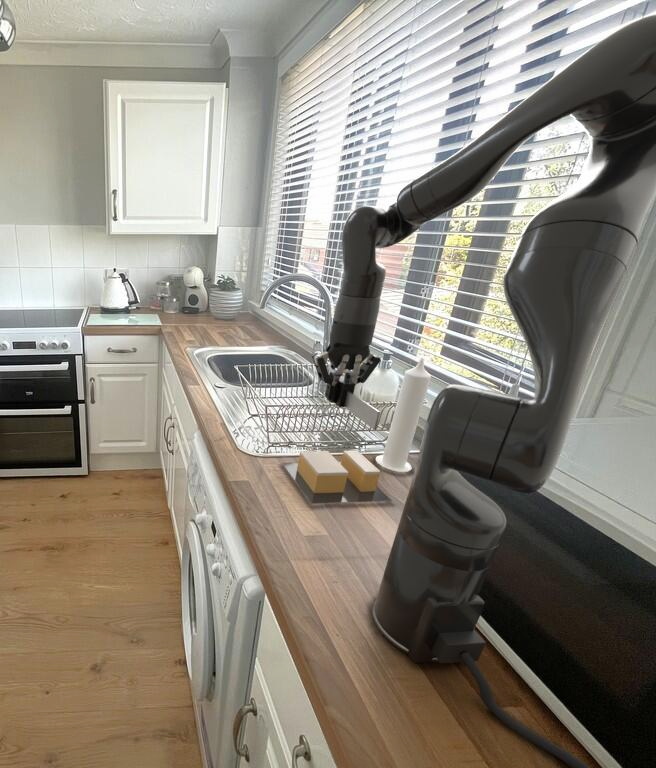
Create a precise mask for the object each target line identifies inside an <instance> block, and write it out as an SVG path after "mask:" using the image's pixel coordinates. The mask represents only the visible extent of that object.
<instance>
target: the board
mask: <svg viewBox="0 0 656 768" xmlns="http://www.w3.org/2000/svg"><path fill="white" fill-rule="evenodd" d="M338 462H339V463H340V464H341V461H338ZM281 464H282V466H283V467H284V469H285V470H286V471H287V473H288V474H289V475H290V477H291V478H292V479H293V481H294V482H295V484H296V485H297V486H298V488H299V489H300V491H301V492H302V493H303V495H304V496H305V497H306V499H307V500H308V501H309V503H310V504H312V505H313V504H315V505H316V504H345V503H377V502H378V503H379V502H393V500H392V499H391V498H390V497H389V496H388V495H387V494H386V493H385V492H384V491H383V490H382V489H381V488H380V487H378V485H377V486H376V489H375V491H369V492H360V490H359V489H358V488H357V487H356V486H355V485H354V484H353V483H352V482H351V481H350V480H349V479H348V478H347V480H346V484H345V488H344V492H339V493H314V492H313V491H312V490H311V488H310V487H309V486H308V484H307V483H306V482H305V481H304V479H303V478H302V477H301V475H300V474H299V473H298V471H297V467H298V462H282V463H281Z"/></svg>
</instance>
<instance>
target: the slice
mask: <svg viewBox="0 0 656 768" xmlns="http://www.w3.org/2000/svg"><path fill="white" fill-rule="evenodd" d="M340 462H341V465H342V466H343V467H344V468H345V469H346V470H347V472H348V476H347V478H348V479H349V480H350V481H351V482H352V483H353V484H354V485H355V486H356V487H357V488H358V489H359V490H360V492H369V491H375V489H376V486H377V487H378V481H379V478H380V474H381V471H380V470H379V469H378V468H377V467H376V466H375V465H374V464H373V463H372V462H371V461H370V460H368V459H367V458H366V457H365V456H364V455H363V454H362V453H361V452H360V451H358V450H355V449H353V450H343V451H342V457H341V461H340Z"/></svg>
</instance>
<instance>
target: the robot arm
mask: <svg viewBox="0 0 656 768" xmlns="http://www.w3.org/2000/svg"><path fill="white" fill-rule="evenodd" d="M569 116H570V117H571V118H572V119H573V120H574V122H575V123H577V125H578V126H579V127H580V128H581V129H582V130H583V131H584V132H585V133H586V134H587V136H588V139H589V142H590V143H589V144H590V147H589V152H588V156H587V159H586V161H585V164H584V167H583V169H582V172H581V174H580V177H579V178H578V180H577V182H576V183H575V185H573V186H572V187H571V188H570V189H568V190H566V191H565V192H564V193H562V194H561V195H559V196H558V197H556V198H555V199H553V200H552V201H551V202H549V203H548V204H546V205H545V206H544V207H542V208H541V209H540V210H539V211H538V212H537V213H536V214H535V215H534V216H533V217H532V218H531V219H530V220H529V221H528V222H527V224H526V225H525V227H524V228H523V230H522V231H521V234H520V236H519V238H518V240H517V243H516V244H515V247H514V250H513V252H512V255H511V257H510V260H509V262H508V264H507V267H506V270H505V272H504V275H503V278H502V279H503V280H502V287H503V294H504V297H505V301H506V303H507V305H508V308H509V310H510V313H511V315H512V317H513V319H514V321H515V323H516V325H517V327H518V329H519V331H520V333H521V335H522V337H523V340H524V342H525V345H526V347H527V350H528V354H529V357H530V361H531V365H532V368H533V369H532V370H533V377H534V397H533V398H532V399H529V398H526V397H525V398H524V397H523V398H522V397H521V396H520V397H518V396H514V395H510V394H506V393H503V392H499V391H498V392H496V391H494V390H489V389H484V388H480V387H475V386H471V385H467V384H462V383H461V384H460V383H451V384H449V385H447V386H445V387H443V388H442V389H441V390H440V392H439V393H438V394H437V395H436V397H435V398H434V399H433V402H432V404H431V406H430V409H429V411H428V414H427V417H426V420H425V421H426V422H425V425H424V429H423V434H422V438H421V443H420V447H419V452H418V457H417V461H416V465H415V468H414V469H415V470H414V472H413V476H412V480H411V483H410V486H409V490H408V493H407V497H406V500H405V503H404V507H403V509H402V513H401V516H400V519H399V523H398V526H397V529H396V532H395V535H394V539H393V542H392V544H391V549H390V552H389V555H388V559H387V561H386V565H385V569H384V571H383V575H382V578H381V581H380V584H379V589H378V593H377V595H376V599H375V601H374V602H373V605H372V610H371V614H372V615H371V616H372V618H373V621H374V625H375V626H376V627H377V629H378V630H379V632H380V633H381V634H382V635H383V637H384V638H385V639H386V640H387V641H389V643H390V644H392V645H393V646H394V647H395V648H397V649H398V650H400V651H402V652H403V653H405V654H406V655H407V656H408V657H409V658H410V659H411V661H412V662H413V663H415V664H423V663H440V664H451V663H453V664H454V663H464V665H465V666H466V667H467V670H468V671H469V672H470V673H471V675H472V677H473V679H474V680H475V682H476V684H477V686H478V689H479V693H480V697H481V700H482V701H483V703H484V705H485V706H486V707H487V708H488V710H489V711H491V713H492V714H493V715H494V716H495V717H496V718H497V719H498V720H499V721H500V722H501V723H503V724H504V725H506V726H507V727H508V728H510V729H511V730H513V731H514V732H515V733H517V734H519V735H520V736H522V738H525V739H526V740H528V741H529V742H531V743H532V744H534V745H536V747H539V748H540V749H542V750H544V751H546V752H547V753H549V754H551V755H552V756H554V757H555V758H557V759H559V760H561V761H562V762H564V763H565V764H566V765H568V766H569V767H571V768H591V767H590V766H589V765H588V764H587V763H585V762H584V761H582V760H581V759H579V758H578V757H577V756H575V755H573V754H572V753H570V752H569V751H567V750H566V749H564V748H562V747H560V746H559V745H557V744H555V743H554V742H552V741H550V740H549V739H547V738H545V737H543V736H541V735H540V734H538V733H536V732H534V731H533V730H531V729H529V728H528V727H526V726H525V725H523V724H521V723H520V722H518V721H517V720H516V719H514V718H513V717H511V715H510V714H508V713H507V712H506V711H505V710H503V709H502V708H501V707H500V706H499V704H498V703H496V700H494V698H493V693H492V689H491V686H490V684H489V683H488V680H487V679H486V677H485V675H484V674H483V672H482V671H481V669H480V668H479V666H478V665H477V663H476V662H478V661H479V659H480V657H481V655H482V652H483V650H484V648H485V646H486V644H487V642H486V640H484V639H483V637H482V636H481V635H480V634H479V633H478V631H477V630H475V628H476V626H477V624H478V621H479V619H480V617H481V615H482V612H483V610H484V607H485V605H486V602H485V600H483V598H482V597H481V596H480V595H479V593H480V591H481V589H482V586H483V584H484V581H485V579H486V577H487V574H488V572H489V570H490V567H491V564H492V562H493V561H494V557H495V555H496V553H497V551H498V549H499V546H500V543H501V542H502V539H503V537H504V535H505V532H506V529H507V517H506V515H505V512H504V511H503V510H502V508H501V507H500V506H499V504H497V503H496V502H495V501H494V500H493V499H492V498H491V497H489V496H487V494H485V493H484V492H482V491H480V490H479V489H478V488H476V487H475V486H474V485H473V484H471V483H470V482H469V481H467V479H465V478H464V477H463V475H462V474H464V475H467V476H470V477H473V478H475V479H479V480H481V481H485V482H487V483H489V482H490V484H493V485H496V486H498V487H502V488H505V489H508V490H511V491H514V492H518V493H521V494H532V493H535V492H537V491H539V490H540V489H541V488H542V487H543V486H544V485H545V484H546V483H547V482H548V480H549V479H550V477H551V475H552V474H553V471H554V470H555V468H556V465H557V463H558V461H559V458H560V455H561V453H562V451H563V448H564V445H565V441H566V439H567V435H568V431H569V429H570V426H571V422H572V420H573V419H572V418H573V416H574V412H575V408H576V405H577V402H578V399H579V395H580V392H581V389H582V387H583V382H584V379H585V375H586V372H587V369H588V366H589V363H590V360H591V356H592V354H593V351H594V349H595V346H596V344H597V341H598V340H599V339H598V338H599V336H600V334H601V332H602V329H603V327H604V324H605V323H606V320H607V317H608V316H609V314H610V311H611V309H612V307H613V305H614V302H615V300H616V298H617V295H618V293H619V291H620V290H621V286H622V285H623V282H624V280H625V278H626V276H627V273H628V271H629V268H630V265H631V263H632V260H633V257H634V255H635V252H636V251H637V248H638V245H639V241H640V238H641V235H642V232H643V229H644V226H645V223H646V220H647V218H648V216H649V213H650V211H651V208H652V206H653V205H654V202H655V199H656V14H652V15H648V16H644V17H642V18H640V19H638V20H635V21H633V22H630V23H629V24H627V25H625V26H623V27H621V28H620V29H618V30H616V31H615V32H613V33H612V34H610V35H608V36H607V37H605V38H604V39H602V40H601V41H599V42H598V43H596V44H595V45H593V46H592V47H591V48H589V49H588V50H586V51H585V52H584V53H582V54H581V55H579V56H578V57H576V59H574V60H573V61H572V62H571V63H569V64H567V66H565V67H563V68H562V69H561V70H560V71H559V72H558V73H557V74H555V75H554V76H552V77H551V78H550V79H548V81H546V82H545V83H544V84H543V85H541V86H540V87H539V88H537V89H536V90H535V91H534V92H533V93H531V94H530V95H529V96H527V97H525V99H524V100H522V101H521V102H520V103H519V104H517V105H516V106H515V107H513V108H512V109H511V110H509V111H508V112H507V113H506V114H505V115H503V116H502V117H501V118H500V119H499V120H498V121H496V122H495V123H493V125H491V126H489V128H488V129H486V130H485V131H483V133H481V134H480V135H478V136H477V137H476V138H475V139H474V140H472V141H471V142H469V143H468V144H467V145H466V146H464V147H462V148H461V149H460V150H459V151H457V152H456V153H454V154H453V155H451V156H450V157H448V158H446V159H445V160H443V161H441V162H440V163H439V164H437V165H435V166H434V167H432V168H430V169H429V170H427V171H426V172H423V174H421V175H419V176H418V177H416V178H414V179H413V180H411V181H410V182H409V183H407V184H406V185H404V186H403V187H402V188H401V189H400V190H399V192H398V193H397V196H396V200H395V202H394V203H392V204H390V205H387V206H376V205H362V206H359V207H356V208H355V209H354V210H353V211H352V212H351V213H350V214H349V215H348V217H347V218H346V220H345V222H344V225H343V227H342V232H341V251H342V252H341V253H342V266H343V275H342V280H341V284H340V288H339V289H340V290H339V295H338V297H337V301H336V304H335V308H334V312H333V318H332V323H331V330H330V333H329V344H328V346H327V347H326V348H325V351H324V352H322V353H319V354H317V353H314V354H313V355H312V361H313V365H314V368H315V370H316V373H317V376H318V379H320V380H321V381H322V382H324V384H326V387H327V388H326V387H325V392H326V393H324V397H325V399H326V400H327V402H329V403H331V404H335V403H334V402H335V399H336V394H337V389H338V386H337V385H338V382H339V379H340V377H341V376H344V377H345V378H347V379H348V380H350V381H352V382H353V383H355V386H357V385H358V384H364V383H366V381H367V380H368V379H369V378H370V376H371V375H372V373H373V372H374V371H375V369H376V368H377V367H378V365H379V364H380V363H381V360H382V359H381V357H379V356H377V355H375V354H372V353H371V350H370V349H371V348H370V346H371V345H372V343H373V338H374V334H375V330H376V326H377V322H378V316H379V312H380V306H381V305H380V303H381V297H382V293H383V289H384V283H385V279H386V273H387V272H386V267H385V266H384V265H383V264H382V263H379V262H377V257H376V255H377V253H376V250H377V249H386V248H389V247H392V246H395V245H396V244H399V243H401V242H402V241H404V240H405V239H407V238H408V237H410V236H411V235H412V234H414V233H416V232H417V231H419V230H420V229H421V228H422V227H423V226H424V225H425V224H426V223H428V222H431V221H433V220H435V219H438V218H439V217H441V216H443V215H445V214H447V213H449V212H451V211H452V210H455V209H457V208H458V207H461V206H462V205H464V204H466V203H467V202H469V201H471V200H472V199H473V198H475V197H476V196H477V195H479V194H480V193H481V192H482V191H483V190H484V189H485V188H486V187H487V186H488V185H489V184H490V182H491V181H492V180H493V179H494V178H495V177H496V176H497V174H498V173H499V171H500V170H501V169H502V168H503V166H504V165H505V164H506V162H508V160H509V159H510V158H511V157H512V156H513V154H514V153H516V151H517V150H518V149H519V148H520V147H521V146H522V145H524V143H526V141H528V140H529V139H531V138H532V137H533V136H534V135H536V134H537V133H539V132H540V131H542V130H543V129H545V128H547V127H549V126H551V125H553V124H554V123H556V122H558V121H561V120H562V119H564V118H566V117H569ZM328 360H329V365H328V368H327V364H328Z"/></svg>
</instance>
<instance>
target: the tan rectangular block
mask: <svg viewBox="0 0 656 768" xmlns="http://www.w3.org/2000/svg"><path fill="white" fill-rule="evenodd" d="M339 462H340V461H338V460H337V459H336V458H335V457H334V456H333V455H332V454H331V452H330V451H329V450H313V451H312V450H311V451H310V450H309V451H300V452H299V457H298V462H297V463H298V467H297V471H298V473H299V474H300V475H301V477H302V478H303V479H304V481H305V482H306V483H307V484H308V486H309V487H310V488H311V490H312V491H313V492H314V493H339V492H344V488H345V484H346V480H347V476H348V472H347V470H346V469H345V468H344V467H343V466H342V465H341V464H340V463H339Z"/></svg>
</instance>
